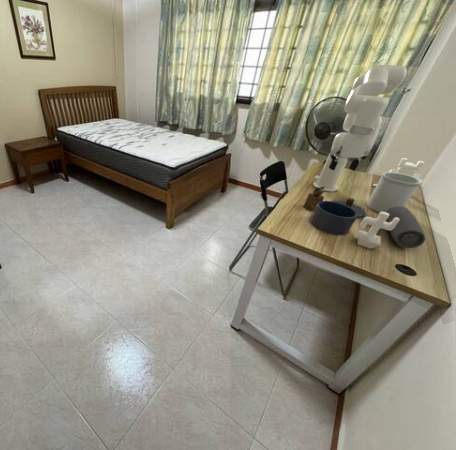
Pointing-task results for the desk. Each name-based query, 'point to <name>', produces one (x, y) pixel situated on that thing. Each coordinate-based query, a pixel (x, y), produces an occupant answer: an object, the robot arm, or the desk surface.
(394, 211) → the bluetooth speaker
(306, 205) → the toy bear
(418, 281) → the desk surface
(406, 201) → the utensil holder
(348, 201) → the pot lid
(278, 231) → the desk surface
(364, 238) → the figurine
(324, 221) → the pot
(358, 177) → the desk surface
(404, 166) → the white branched piece
